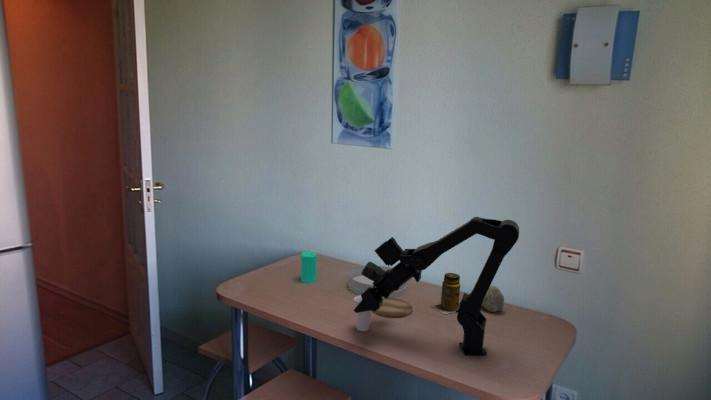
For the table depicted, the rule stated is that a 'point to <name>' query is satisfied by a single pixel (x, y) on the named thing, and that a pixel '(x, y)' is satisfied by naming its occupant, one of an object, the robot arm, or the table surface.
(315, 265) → the candle
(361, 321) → the smoothie
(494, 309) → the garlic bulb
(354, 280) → the dish
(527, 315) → the table surface
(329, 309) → the table surface
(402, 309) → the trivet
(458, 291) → the condiment
